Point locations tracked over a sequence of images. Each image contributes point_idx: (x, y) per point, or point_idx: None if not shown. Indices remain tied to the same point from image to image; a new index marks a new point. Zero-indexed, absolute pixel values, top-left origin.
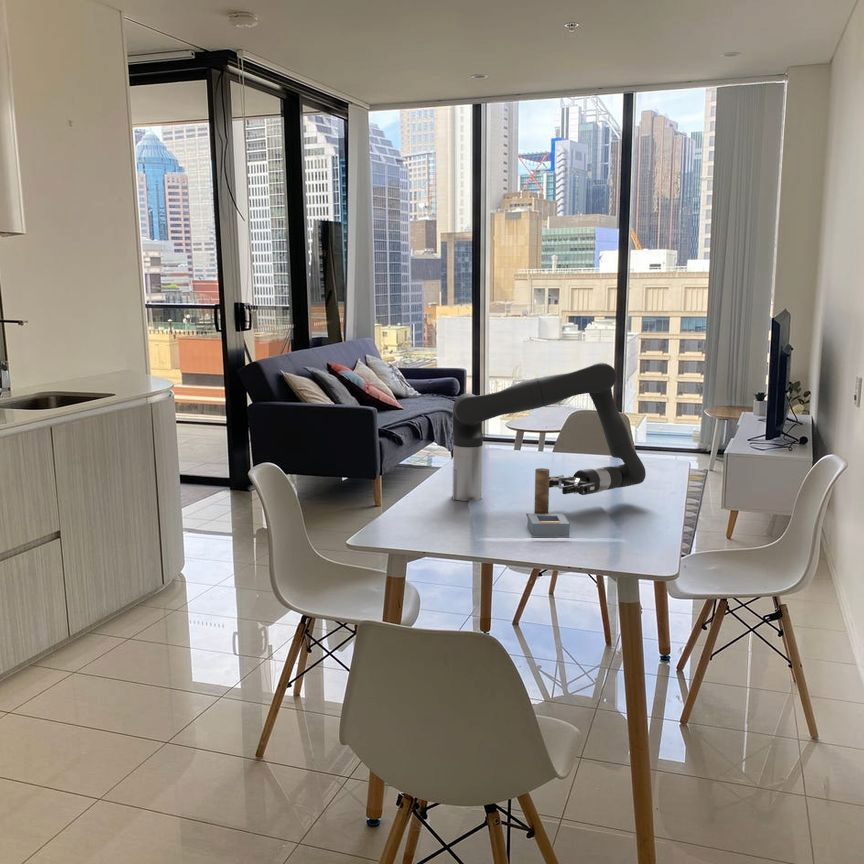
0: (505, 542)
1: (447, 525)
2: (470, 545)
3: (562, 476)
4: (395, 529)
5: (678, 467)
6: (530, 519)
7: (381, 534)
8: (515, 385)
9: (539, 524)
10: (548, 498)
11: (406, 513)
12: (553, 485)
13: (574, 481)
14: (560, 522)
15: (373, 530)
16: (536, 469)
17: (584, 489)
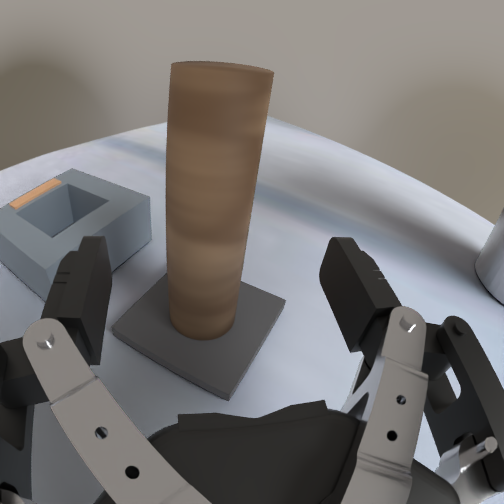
0: (107, 171)
1: (277, 165)
2: (142, 144)
3: (500, 460)
4: (284, 134)
5: None
6: (99, 178)
7: (267, 123)
8: None
9: (56, 178)
10: (170, 249)
11: (377, 169)
12: (368, 361)
13: (207, 482)
14: (10, 209)
15: (290, 126)
16: (251, 66)
17: (11, 447)
